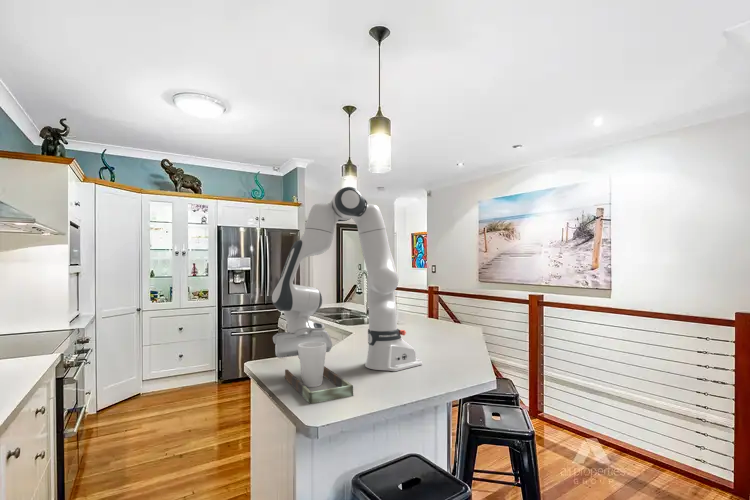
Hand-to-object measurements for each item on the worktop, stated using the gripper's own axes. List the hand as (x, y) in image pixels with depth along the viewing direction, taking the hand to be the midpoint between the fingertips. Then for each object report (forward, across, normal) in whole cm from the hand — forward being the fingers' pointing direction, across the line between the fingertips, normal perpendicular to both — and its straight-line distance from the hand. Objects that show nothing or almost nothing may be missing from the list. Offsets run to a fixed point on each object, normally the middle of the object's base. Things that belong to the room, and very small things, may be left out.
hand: (308, 364), depth 131 cm
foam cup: (+8, 0, 0) cm, 8 cm away
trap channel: (+10, 0, -2) cm, 10 cm away
